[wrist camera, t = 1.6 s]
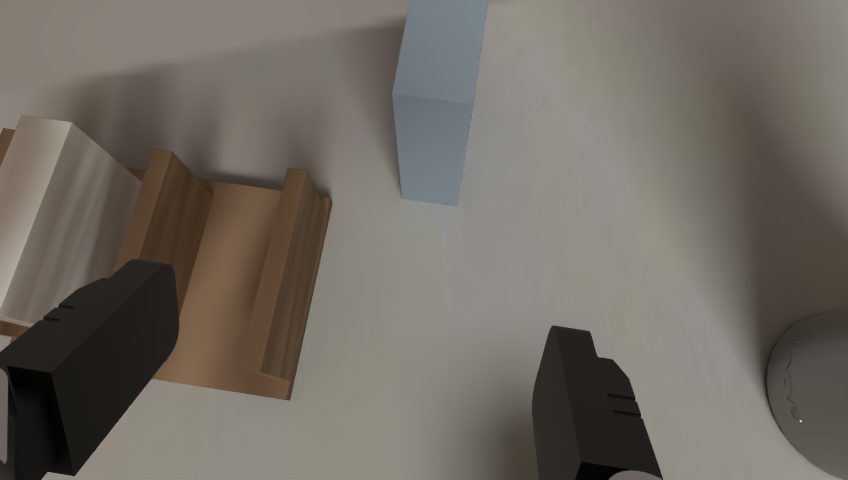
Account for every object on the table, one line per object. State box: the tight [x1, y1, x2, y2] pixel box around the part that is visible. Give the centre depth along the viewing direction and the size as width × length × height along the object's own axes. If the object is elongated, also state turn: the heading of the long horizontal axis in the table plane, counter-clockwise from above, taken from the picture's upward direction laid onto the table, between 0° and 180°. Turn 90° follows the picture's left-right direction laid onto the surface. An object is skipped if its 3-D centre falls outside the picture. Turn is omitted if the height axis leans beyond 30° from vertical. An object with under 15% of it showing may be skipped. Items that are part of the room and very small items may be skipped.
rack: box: [0, 115, 332, 400], centre depth 29 cm, size 16×12×10 cm
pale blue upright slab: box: [392, 0, 488, 206], centre depth 31 cm, size 4×8×12 cm, turn 171°
